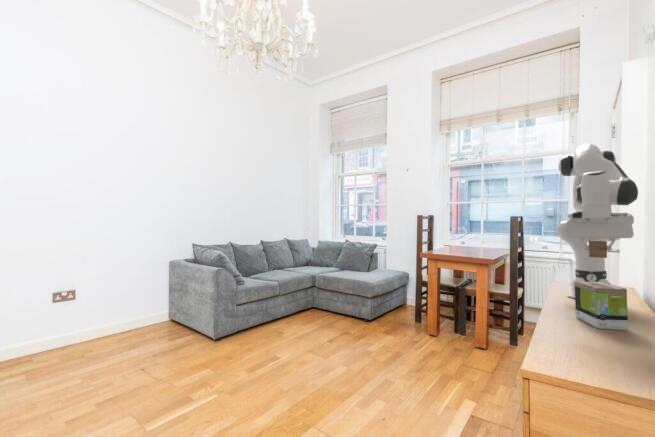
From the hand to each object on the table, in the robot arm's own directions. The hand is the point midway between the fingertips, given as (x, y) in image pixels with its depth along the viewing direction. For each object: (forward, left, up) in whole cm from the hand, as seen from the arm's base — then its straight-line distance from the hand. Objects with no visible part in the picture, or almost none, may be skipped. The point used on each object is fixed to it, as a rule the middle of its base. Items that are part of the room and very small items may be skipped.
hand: (597, 250), depth 124 cm
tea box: (0, 0, -28) cm, 28 cm away
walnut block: (0, 0, -3) cm, 3 cm away
